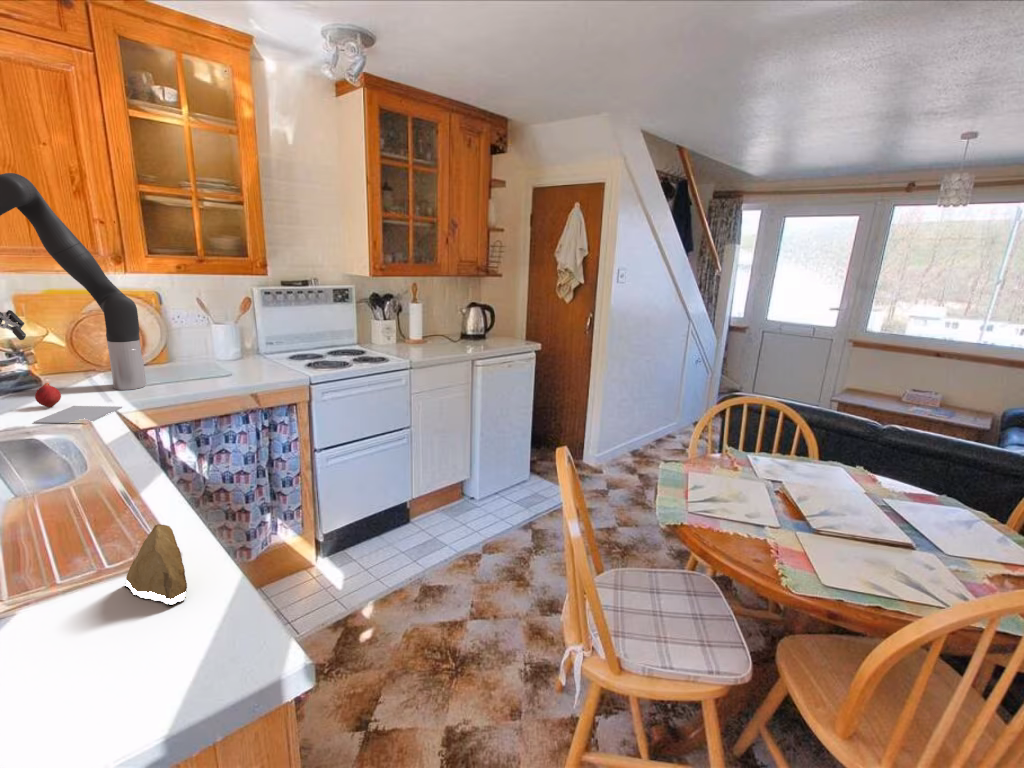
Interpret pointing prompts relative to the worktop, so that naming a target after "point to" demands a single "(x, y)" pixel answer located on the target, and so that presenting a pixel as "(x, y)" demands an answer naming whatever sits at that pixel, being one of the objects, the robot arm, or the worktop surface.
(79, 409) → the mat
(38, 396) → the onion
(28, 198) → the robot arm
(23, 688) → the worktop surface
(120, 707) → the worktop surface
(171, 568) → the rock
